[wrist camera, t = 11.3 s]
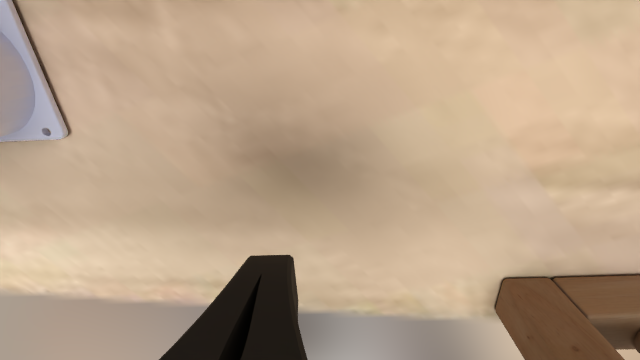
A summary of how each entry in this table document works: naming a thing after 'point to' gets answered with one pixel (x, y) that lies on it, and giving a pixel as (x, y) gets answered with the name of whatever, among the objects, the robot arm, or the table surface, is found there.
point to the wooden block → (572, 316)
